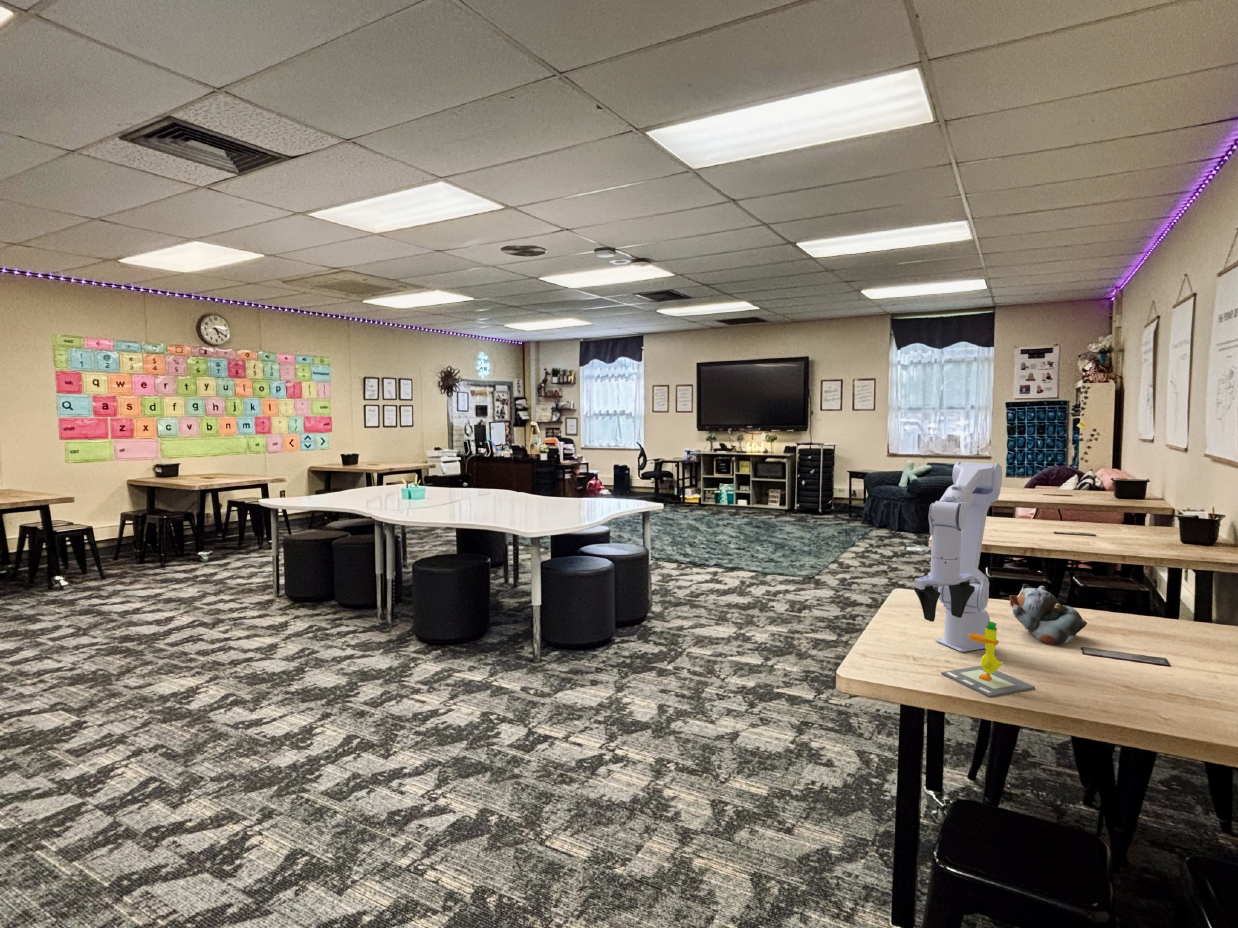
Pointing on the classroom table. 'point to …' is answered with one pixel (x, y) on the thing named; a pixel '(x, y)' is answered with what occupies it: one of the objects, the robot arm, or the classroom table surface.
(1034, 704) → the classroom table surface
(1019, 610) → the lucky cat figurine
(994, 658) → the toy figure
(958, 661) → the classroom table surface
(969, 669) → the display panel
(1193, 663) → the classroom table surface
